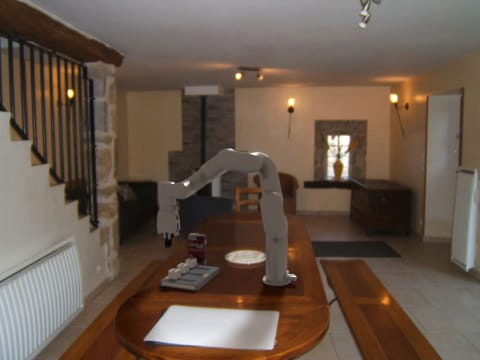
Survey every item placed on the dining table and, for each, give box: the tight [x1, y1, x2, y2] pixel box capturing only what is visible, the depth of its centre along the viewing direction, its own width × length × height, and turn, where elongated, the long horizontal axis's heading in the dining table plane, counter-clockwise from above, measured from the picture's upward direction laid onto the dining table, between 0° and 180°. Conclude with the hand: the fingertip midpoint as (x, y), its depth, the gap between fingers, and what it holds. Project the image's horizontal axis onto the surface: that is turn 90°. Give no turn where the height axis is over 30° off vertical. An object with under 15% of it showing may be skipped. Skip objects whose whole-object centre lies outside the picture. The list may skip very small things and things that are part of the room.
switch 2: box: [176, 262, 189, 274], centre depth 191 cm, size 4×4×4 cm
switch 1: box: [167, 267, 181, 280], centre depth 184 cm, size 4×4×4 cm
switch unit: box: [159, 265, 220, 292], centre depth 190 cm, size 18×24×3 cm
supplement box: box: [187, 232, 208, 266], centre depth 209 cm, size 9×5×16 cm, turn 78°
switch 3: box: [184, 258, 197, 268], centre depth 199 cm, size 4×4×4 cm
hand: (168, 246), depth 192 cm, fingers closed
